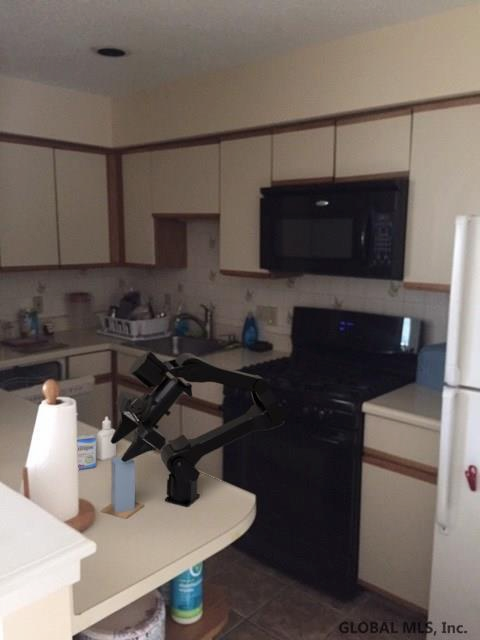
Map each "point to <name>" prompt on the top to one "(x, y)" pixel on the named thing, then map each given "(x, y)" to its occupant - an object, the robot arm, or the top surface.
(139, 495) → the top surface
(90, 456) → the medicine box
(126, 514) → the pen stand
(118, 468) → the tall blue pillar
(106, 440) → the eye dropper bottle
